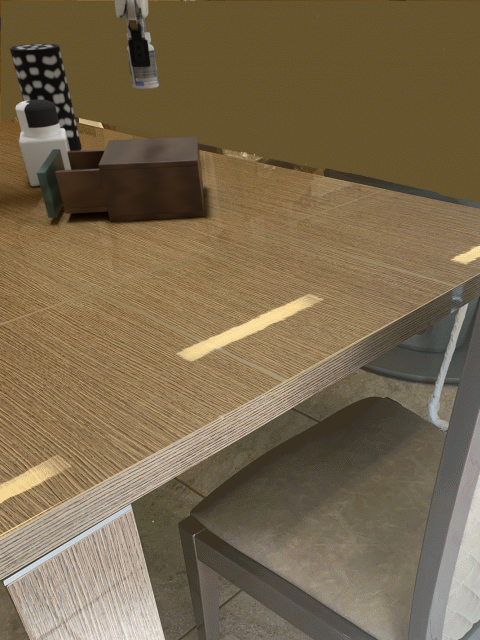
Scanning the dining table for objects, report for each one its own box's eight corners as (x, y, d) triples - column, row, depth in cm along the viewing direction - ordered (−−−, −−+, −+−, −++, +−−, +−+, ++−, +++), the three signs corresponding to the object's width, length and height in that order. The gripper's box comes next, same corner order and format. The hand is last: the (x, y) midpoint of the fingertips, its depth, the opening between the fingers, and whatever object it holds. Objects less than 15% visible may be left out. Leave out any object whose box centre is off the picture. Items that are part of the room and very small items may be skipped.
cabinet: (110, 221, 100) (98, 164, 95) (119, 192, 112) (109, 140, 107) (204, 216, 102) (197, 160, 97) (203, 188, 113) (197, 136, 108)
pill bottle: (164, 86, 116) (157, 32, 111) (143, 90, 113) (135, 34, 108) (147, 83, 118) (140, 30, 113) (127, 87, 115) (118, 32, 110)
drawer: (40, 218, 99) (27, 173, 95) (55, 191, 110) (45, 149, 105) (137, 213, 101) (129, 168, 97) (143, 187, 111) (136, 145, 107)
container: (74, 171, 122) (57, 95, 114) (76, 182, 116) (57, 104, 108) (31, 175, 120) (11, 98, 112) (30, 187, 114) (8, 107, 106)
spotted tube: (45, 159, 129) (16, 44, 117) (88, 157, 129) (63, 43, 117) (36, 171, 122) (3, 50, 110) (80, 169, 123) (53, 49, 111)
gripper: (105, -65, 109) (124, 57, 120) (93, -66, 95) (116, 72, 106) (150, -65, 110) (165, 57, 121) (144, -66, 96) (162, 71, 107)
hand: (142, 63), depth 113 cm, fingers closed on pill bottle, 4 cm apart
